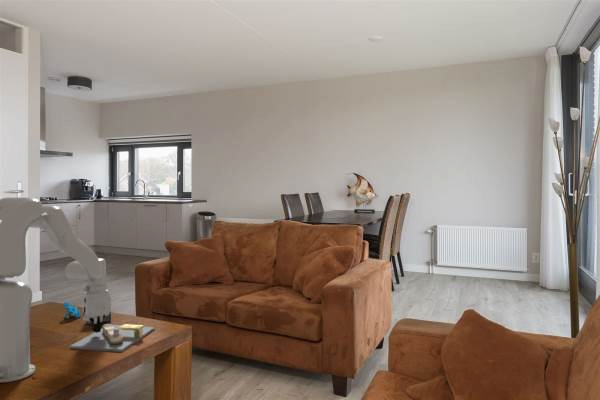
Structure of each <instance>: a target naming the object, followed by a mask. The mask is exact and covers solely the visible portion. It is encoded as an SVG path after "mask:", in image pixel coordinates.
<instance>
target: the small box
mask: <svg viewBox="0 0 600 400" xmlns="http://www.w3.org/2000/svg"><path fill="white" fill-rule="evenodd" d="M111 300H112V299H111V297H110V303H111ZM111 304H112V303H111ZM96 318H97V317H96ZM85 322H86V323H85V326H88V325H89V326H90V325H91V326H92V322H90V321H85ZM111 322H112V311H111V312H110V313H109V315H107V316H105V317H104V319H103V321H102V322H101V324H105V323H106V324H109V323H111Z"/></svg>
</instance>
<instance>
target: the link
mask: <svg viewBox="0 0 600 400" xmlns="http://www.w3.org/2000/svg"><path fill="white" fill-rule="evenodd" d="M112 325H113V324H111V323H106V324H105V323H104V324H103V325H102V328H103V333H104V334H105V335H106V337H107V338H108V339H109V340H110V344H120V343H122V342H123V334H120V333H119V329H115V328H114V327H113V326H112Z"/></svg>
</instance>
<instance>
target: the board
mask: <svg viewBox="0 0 600 400" xmlns="http://www.w3.org/2000/svg"><path fill="white" fill-rule="evenodd" d="M111 325H112V326H113V327H114V328H115V329H119V327H120V326H122V325H123V324H122V325H121V324H120V325H119V324H111ZM155 329H156V328H155V327H153V326H144V328H143V336H142V337H140V338H135V337H134V330H119V333H120V334H123V342H122V343H120V344H110V340H109V339H108V338H107V337H106V335H105V334H104V333H103V327H101V332H98V333H95V332H92V333H91V334H89V335H87V336H86V337H84V338H82V339H80V340H78V341H75V343H73V344H71V345H69V349H73V350H86V351H99V352H100V351H103V352H114V353H115V352H118V353H123V352H124V351H126V350H127V349H128V348H130V347H131V346H133V345H134V344H136V343H137V342H139V341H140V340H141V339H143V338H144V337H146V336H147V335H149V334H150V333H152V332H153V331H155Z"/></svg>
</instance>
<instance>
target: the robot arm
mask: <svg viewBox="0 0 600 400" xmlns="http://www.w3.org/2000/svg"><path fill="white" fill-rule="evenodd" d="M30 228H33V229H34V228H36V229H37V228H38V229H43V231H44V232H45V234H46V236H47V237H48V240H49V241H50V242H51V245H52V246H53V248H54V249H55V250H57V251H58V252H59V253H62V254H64V255H66V256H68V257H70V258H73V259H74V261H71V262H69V263H68V264H67V265H66V266H65V269H64V274H65V276H66V277H67V279H70V280H74V281H84V282H85V284H86V285H85V287H83V288H82V290H83V291H84V295H83V300H82V316H83V321H85V322H86V321H90V322H92V324H91V327H92V328H91V331H92V333H98V332H101V329H102V323H101V322H102V321H103V319H104V317H105V316H107V315H109V313H110V312H111V313H112V308H111V307H112V305H111V304H112V303H110V298H111V296H110V292H109V289H107V262H106V260H105V258H103V257H102V258H101V257H98V255H97V254H96V253H95V251H94V250H93V249H92V248H91V247H90V246H89V245H87V244H86V243H85V242H84V241H82V240H81V238H79V237H78V236H77V235H76V233H75V231H74V228H73V227H72V224H71V223H70V222H69V220H68V217H67V216H66V214H65V212H64V210H62V208H61V207H59V206H56V205H43V202H41V201H40V200H39V199H37V198H32V197H3V198H0V383H2V384H3V383H11V382H15V381H20V380H23V379H25V378H28V377H29V376H31V375H33V374H34V373H35V372H36V366H35V365H34V364H32V363H31V352H30V351H31V349H30V348H31V347H30V346H31V344H30V343H31V342H30V341H31V339H30V337H31V336H30V335H31V334H30V333H31V331H30V311H31V307H32V306H31V305H32V301H33V291H32V288H31V287H30V286H29V284H26V283H24V282H22V281H16V280H6V279H8V278H9V279H11V278H18V277H20V276H22V275H23V274H24V273H25V271H26V268H27V251H26V236H27V233H28V230H29V229H30ZM96 317H97V318H96Z"/></svg>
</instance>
